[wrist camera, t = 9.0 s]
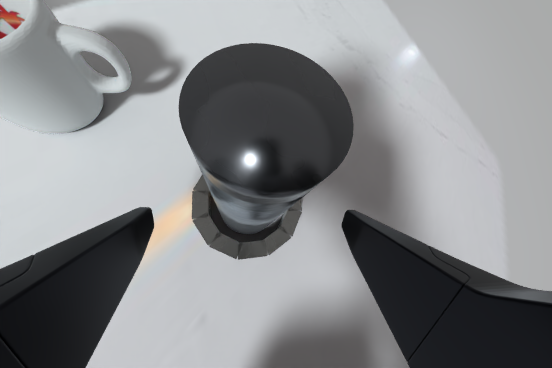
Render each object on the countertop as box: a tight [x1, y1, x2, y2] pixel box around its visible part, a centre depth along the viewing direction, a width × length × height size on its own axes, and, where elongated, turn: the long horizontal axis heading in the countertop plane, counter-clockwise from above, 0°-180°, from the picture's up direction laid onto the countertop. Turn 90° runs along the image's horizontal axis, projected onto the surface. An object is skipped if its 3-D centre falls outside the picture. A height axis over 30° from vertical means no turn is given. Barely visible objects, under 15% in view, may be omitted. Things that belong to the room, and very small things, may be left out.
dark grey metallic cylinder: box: [179, 43, 353, 234], centre depth 12 cm, size 5×5×13 cm
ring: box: [192, 175, 302, 259], centre depth 17 cm, size 9×9×1 cm
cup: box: [0, 0, 132, 134], centre depth 14 cm, size 11×8×8 cm
